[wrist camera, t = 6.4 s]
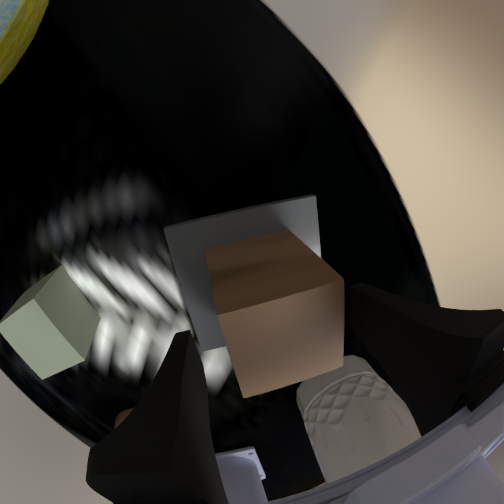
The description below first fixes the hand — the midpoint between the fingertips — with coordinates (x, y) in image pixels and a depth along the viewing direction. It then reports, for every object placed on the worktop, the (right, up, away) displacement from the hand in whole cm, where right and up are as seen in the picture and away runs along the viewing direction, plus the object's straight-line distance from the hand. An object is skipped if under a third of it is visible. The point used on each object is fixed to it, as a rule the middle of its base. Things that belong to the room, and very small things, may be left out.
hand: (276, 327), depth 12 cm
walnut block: (-1, +2, +4) cm, 4 cm away
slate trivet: (-1, +2, +4) cm, 5 cm away
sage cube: (-13, 0, +2) cm, 13 cm away
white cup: (+6, -8, +10) cm, 14 cm away
